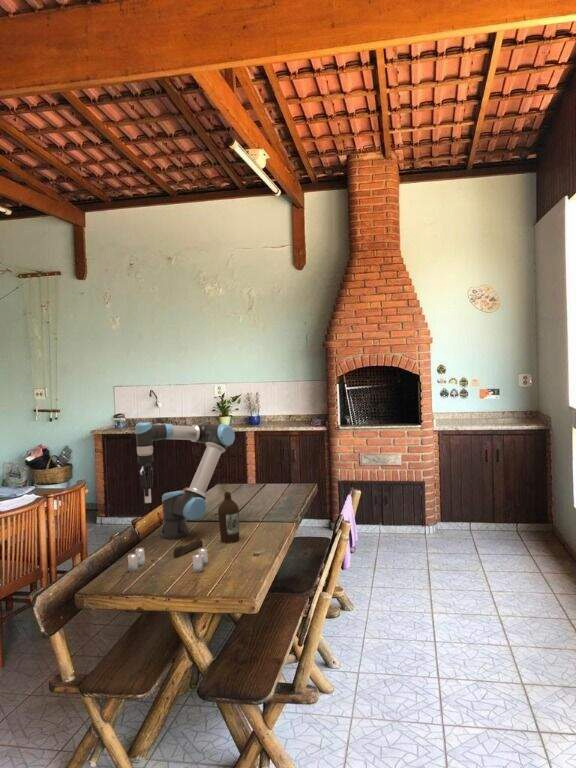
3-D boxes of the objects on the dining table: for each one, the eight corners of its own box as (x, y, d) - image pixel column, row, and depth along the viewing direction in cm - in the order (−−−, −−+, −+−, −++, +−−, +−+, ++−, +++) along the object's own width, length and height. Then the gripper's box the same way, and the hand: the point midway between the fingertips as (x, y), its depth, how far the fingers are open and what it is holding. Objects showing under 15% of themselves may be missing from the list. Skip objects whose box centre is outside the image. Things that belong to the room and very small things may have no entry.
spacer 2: (138, 562, 265) (137, 547, 265) (146, 562, 265) (145, 547, 265) (134, 565, 262) (133, 550, 261) (143, 565, 261) (142, 550, 261)
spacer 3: (195, 569, 253) (194, 553, 252) (203, 569, 252) (202, 553, 252) (192, 572, 249) (191, 556, 249) (201, 572, 248) (200, 556, 248)
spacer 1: (131, 568, 258) (130, 553, 257) (139, 568, 257) (138, 553, 257) (127, 572, 254) (126, 556, 253) (135, 572, 253) (134, 556, 253)
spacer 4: (200, 562, 261) (199, 547, 260) (209, 562, 260) (208, 547, 260) (197, 566, 257) (197, 550, 256) (206, 566, 256) (205, 550, 256)
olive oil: (216, 540, 294) (213, 491, 293) (234, 535, 300) (231, 488, 299) (225, 544, 285) (222, 495, 284) (244, 540, 291) (241, 491, 290)
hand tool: (197, 546, 286) (196, 537, 286) (203, 547, 284) (202, 537, 284) (169, 558, 271) (169, 548, 270) (176, 559, 268) (175, 549, 268)
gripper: (147, 456, 272) (150, 505, 272) (157, 452, 285) (160, 499, 285) (132, 456, 273) (135, 506, 274) (143, 452, 286) (146, 499, 286)
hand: (148, 502), depth 279 cm, fingers closed
